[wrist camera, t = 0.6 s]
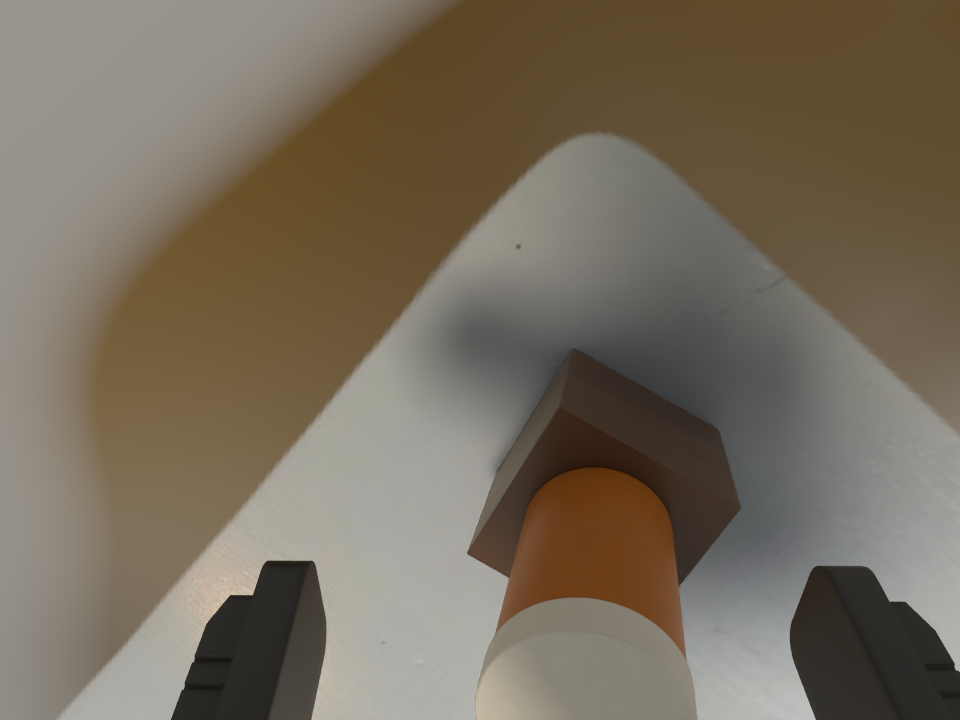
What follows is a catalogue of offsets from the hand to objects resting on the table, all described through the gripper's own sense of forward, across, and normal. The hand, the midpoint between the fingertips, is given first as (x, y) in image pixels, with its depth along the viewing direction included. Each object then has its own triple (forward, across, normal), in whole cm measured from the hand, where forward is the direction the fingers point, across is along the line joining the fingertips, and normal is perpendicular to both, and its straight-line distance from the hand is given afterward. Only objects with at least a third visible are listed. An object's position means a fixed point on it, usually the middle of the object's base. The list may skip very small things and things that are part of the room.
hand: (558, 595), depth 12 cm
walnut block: (+15, -4, +10) cm, 18 cm away
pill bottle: (+9, -2, +8) cm, 12 cm away
